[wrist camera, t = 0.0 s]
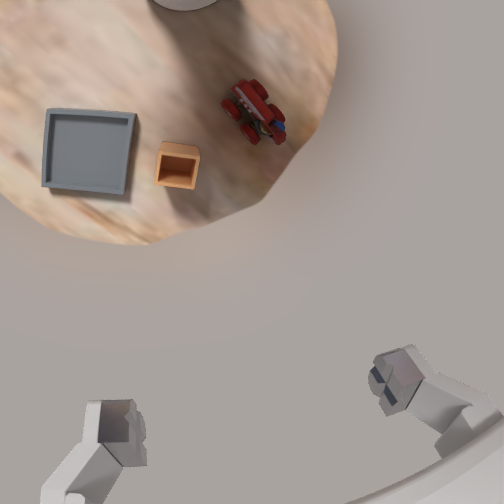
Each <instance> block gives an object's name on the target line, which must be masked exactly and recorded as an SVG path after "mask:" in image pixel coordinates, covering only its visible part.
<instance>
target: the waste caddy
mask: <svg viewBox="0 0 504 504" xmlns="http://www.w3.org/2000/svg"><path fill="white" fill-rule="evenodd" d="M199 162H200V153H199V150H198V147H197V146H191V145H184V144H177V143H170V142H162V144H161V147H160V149H159V153H158V159H157V166H156V172H155V179H154V185H162V186H170V187H178V188H185V189H192V190H194V188H195V183H196V177H197V172H198V167H199Z"/></svg>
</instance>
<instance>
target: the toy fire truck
mask: <svg viewBox="0 0 504 504" xmlns="http://www.w3.org/2000/svg"><path fill="white" fill-rule="evenodd" d="M230 91H231V93H232V94H233V95H234V96H235V98H236V99H237V100H238V102H237V103H235V104H234V103H233V102H232V101H230V100H229V99H228V98H227V99H225V100H224V101H223V102H221V106H222V107H223V108H224V110H225V111H226V112H227V113H228V114H229V115H230V116H231V117H232V118H233V119H234V120H235V121H238V120H239V119H241V118H242V117H243V115H242V113H241V112H240V110H239V109H238V108H239V107H241V106H243V107H244V108H245V110H246V111H247V112H248V113H249V114H250V116H251V117H252V118H253V119H254V120H255V122H254V121H253V122H252V123H251V124H248V123H247V122H245V123H243V124H242V125H241V126H240V130H241V131H242V133H243V134H244V135H245V136H246V137H247V139H248V140H249V141H250V142H251V143H252V144H253V145H256V144H257V143H258V142H259V141H260V140H261V139H260V137H259V135H261V134H263V135H267V137H268V138H269V139H270V140H271V141H272V142H273V143H275V144H277V145H280V144H281V143H283V142H284V141H285V139H286V133H285V131H284V130H285V126H284V124H283V123H284V122H285V117H284V115H283V114H282V112H281V111H280V110H279V109H278V108H277V107H276V106H275V105H274V104H269V105H266V103H265V102H264V100H266V99H267V98H268V93H267V91H266V90H265V89H264V87H263V86H262V85H261V84H260V83H259V82H258V81H256V80H255V79H252V80H251V81H249V82H248V81H246V80H241V81H240V82H239V83H237V84H235V85H234V86H233V87H231V88H230Z"/></svg>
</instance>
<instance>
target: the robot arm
mask: <svg viewBox="0 0 504 504" xmlns="http://www.w3.org/2000/svg"><path fill="white" fill-rule="evenodd" d="M154 1H155V2H156V3H158V4H159V5H161V6H163V7H166V8H169V9H173V10H181V11H188V10H195V9H200V8H203V7H206V6H208V5H210V4H212V3H214V2H215V1H217V0H154ZM373 363H374V365H375V366H374V367H373V368H372V369H371V370H370V373H369V376H368V380H369V386H370V389H371V391H372V392H373V394H374V395H376V396H378V397H380V399H379V405H380V406H381V408H382V410H383V411H384V413H385V415H386V416H390V415H393V414H395V413H397V412H400V411H403V410H406V411H407V412H408V413H410V414H411V415H413V416H415V417H416V418H418V419H419V420H421V421H422V422H424V423H426V424H427V425H429V426H430V427H432V428H433V429H435V430H436V431H438V432H439V433H441V434H442V436H441V437H440V438H439V439H438V440H437V441H436V443H435V448H436V449H437V451H438V453H439V454H440V456H441V458H442V459H441V460H439V461H438V462H436V463H434V464H432V465H430V466H428V467H427V468H425V469H423V470H421V471H419V472H417V473H415V474H413V475H411V476H409V477H407V478H405V479H403V480H401V481H399V482H397V483H395V484H392V485H390V486H388V487H386V488H383V489H381V490H379V491H376V492H374V493H372V494H369V495H366V496H364V497H361V498H359V499H356V500H353V501H351V502H348V503H345V504H504V416H503V415H502V414H501V412H500V411H499V410H498V408H497V407H496V405H495V404H494V403H493V402H492V400H491V399H490V397H489V396H488V395H487V394H486V393H484V392H481V391H479V390H477V389H475V388H472V387H470V386H468V385H466V384H464V383H461V382H459V381H457V380H455V379H452V378H450V377H448V376H446V375H444V374H442V373H436V372H435V371H434V370H433V368H432V367H431V366H430V364H429V363H428V362H427V360H426V359H425V358H424V357H423V355H422V354H421V353H420V351H419V350H418V349H417V348H416V346H414V345H413V344H410V345H407V346H404V347H401V348H397V349H394V350H392V351H389V352H385V353H382V354H379V355H377V356H376V357H375V359H374V361H373ZM145 438H146V429H145V423H144V419H143V416H142V415H141V413H140V412H138V411H137V410H136V403H135V402H134V400H133V399H131V400H89V402H88V404H87V408H86V414H85V421H84V429H83V437H82V443H77V444H76V446H75V447H74V448H73V449H72V451H71V452H70V453H69V454H68V455H67V457H66V458H65V459H64V460H63V462H62V463H61V464H60V465H59V467H58V468H57V469H56V470H55V471H54V473H53V474H52V475H51V476H50V477H49V479H48V480H47V481H46V482H45V484H44V485H43V486H42V487H41V499H40V504H103V502H104V501H105V499H106V497H107V495H108V493H109V492H110V490H111V488H112V487H113V485H114V483H115V482H116V480H117V478H118V477H119V475H120V473H121V471H122V470H123V467H137V466H147V457H146V448H145V447H144V445H143V443H142V442H143V441H144V439H145Z"/></svg>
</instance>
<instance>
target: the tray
mask: <svg viewBox="0 0 504 504" xmlns="http://www.w3.org/2000/svg"><path fill="white" fill-rule="evenodd" d="M135 119H136V113H128V112H118V111H105V110H91V109H71V108H49V109H47V112H46V121H45V131H44V143H43V158H42V187H49V188H60V189H71V190H82V191H92V192H102V193H111V194H120V195H124V193H125V191H126V183H127V174H128V166H129V158H130V151H131V144H132V137H133V131H134V125H135Z"/></svg>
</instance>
